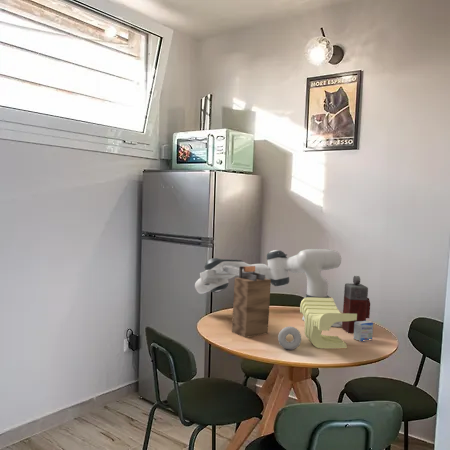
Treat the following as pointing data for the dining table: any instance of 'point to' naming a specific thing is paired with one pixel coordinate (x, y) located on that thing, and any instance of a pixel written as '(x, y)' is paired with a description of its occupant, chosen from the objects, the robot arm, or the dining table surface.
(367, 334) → the medicine box
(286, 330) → the donut
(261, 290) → the stand
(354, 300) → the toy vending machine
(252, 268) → the keeper bolt
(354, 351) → the dining table surface
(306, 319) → the slatted curved stool
